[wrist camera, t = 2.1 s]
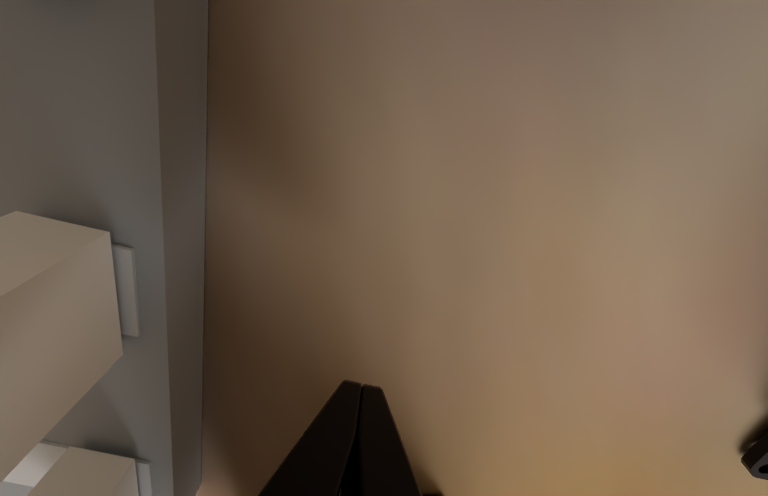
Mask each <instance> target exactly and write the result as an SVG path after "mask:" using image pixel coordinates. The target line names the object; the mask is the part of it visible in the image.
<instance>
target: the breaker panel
mask: <svg viewBox="0 0 768 496" xmlns="http://www.w3.org/2000/svg"><path fill="white" fill-rule="evenodd" d="M207 64H208V0H0V217H2V216H4V215H7V214H9V213H12V212H15V211H19V212H24V213H28V214H32V215H37V216H41V217H46V218H50V219H55V220H59V221H63V222H68V223H72V224H77V225H81V226H86V227H90V228H94V229H99V230H103V231H108V232H110V240H111V249H112V258H113V267H114V276H115V285H116V294H117V303H118V312H119V321H120V330H121V339H122V349H123V355H122V356H121V357H120V358H119V359H118V360H117V361H116V362H115V363H114V364H113V366H112V367H111V368H110V369H109V370H108V371H107V372H106V373H105V374H104V375H103V376H102V377H101V378H100V379H99V380H98V381H97V382H96V383H95V384H94V385H93V386H92V388H91V389H90V390H89V391H88V392H87V393H86V394H85V395H84V396H83V397H82V398H81V399H80V400H79V401H78V402H77V403H76V404H75V405H74V406H73V407H72V408H71V409H70V411H69V412H68V413H67V414H66V415H65V416H64V417H63V418H62V419H61V420H60V421H59V422H58V423H57V424H56V425H55V426H54V427H53V428H52V429H51V430H50V431H49V432H48V434H47V435H46V436H45V437H44V438H43V439H42V440H41V441H40V442H39V443H38V444H37V445H36V446H35V447H34V448H33V449H32V450H31V451H30V452H29V453H28V454H27V456H26V457H25V458H24V459H23V460H22V461H21V462H20V463H19V464H18V465H17V466H16V467H15V468H14V469H13V470H12V471H11V472H10V473H9V474H8V475H7V476H6V477H5V479H4V480H3V481H2V482H1V483H0V496H27V495H28V494H29V492H30V491H31V490H32V489H33V488H34V487H35V486H36V484H37V483H38V482H39V481H40V480H41V479H42V478H43V476H44V475H45V474H46V473H47V472H48V471H49V469H50V468H51V467H52V466H53V465H54V464H55V463H56V461H57V460H58V459H59V458H60V457H61V456H62V454H63V453H64V452H65V451H66V450H67V449H68V448H69V446H71V447H76V448H81V449H86V450H91V451H96V452H101V453H106V454H111V455H116V456H121V457H126V458H131V459H135V467H136V476H137V485H138V494H139V496H195V495H196V493H197V491H198V489H199V486H200V484H201V453H202V388H203V323H204V258H205V194H206V129H207Z"/></svg>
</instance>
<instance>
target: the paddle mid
mask: <svg viewBox="0 0 768 496" xmlns="http://www.w3.org/2000/svg"><path fill="white" fill-rule="evenodd" d="M122 355H123V349H122V339H121V330H120V321H119V312H118V303H117V294H116V285H115V276H114V267H113V258H112V249H111V240H110V232H108V231H103V230H99V229H94V228H90V227H86V226H81V225H77V224H72V223H68V222H63V221H59V220H55V219H50V218H46V217H41V216H37V215H32V214H28V213H24V212H19V211H15V212H12V213H9V214H7V215H4V216H2V217H0V483H1V482H2V481H3V480H4V479H5V477H6V476H7V475H8V474H9V473H10V472H11V471H12V470H13V469H14V468H15V467H16V466H17V465H18V464H19V463H20V462H21V461H22V460H23V459H24V458H25V457H26V456H27V454H28V453H29V452H30V451H31V450H32V449H33V448H34V447H35V446H36V445H37V444H38V443H39V442H40V441H41V440H42V439H43V438H44V437H45V436H46V435H47V434H48V432H49V431H50V430H51V429H52V428H53V427H54V426H55V425H56V424H57V423H58V422H59V421H60V420H61V419H62V418H63V417H64V416H65V415H66V414H67V413H68V412H69V411H70V409H71V408H72V407H73V406H74V405H75V404H76V403H77V402H78V401H79V400H80V399H81V398H82V397H83V396H84V395H85V394H86V393H87V392H88V391H89V390H90V389H91V388H92V386H93V385H94V384H95V383H96V382H97V381H98V380H99V379H100V378H101V377H102V376H103V375H104V374H105V373H106V372H107V371H108V370H109V369H110V368H111V367H112V366H113V364H114V363H115V362H116V361H117V360H118V359H119V358H120V357H121V356H122Z"/></svg>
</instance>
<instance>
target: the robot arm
mask: <svg viewBox="0 0 768 496" xmlns="http://www.w3.org/2000/svg"><path fill="white" fill-rule="evenodd" d="M741 462H742V464H743V465H744V466H745V467H746V468H747V470H748V471H749V472H750V473H751V475H752V476H754V477H756V478H760V479H765V480H768V432H767V433H766V434H765V435H764V436H763V437H762V438H761V439H760V440H759V441H758V442H757V443H756V444H755V445H753V446H752V447H751V448H750V449H749V450H748V451H747V452H746V453H745V454H744V455H743V457H742V458H741ZM339 493H340V496H422V494H421V491H420V489H419V486H418V483H417V481H416V478H415V475H414V472H413V470H412V467H411V464H410V462H409V459H408V456H407V454H406V451H405V448H404V446H403V443H402V440H401V438H400V435H399V432H398V430H397V427H396V424H395V422H394V419H393V416H392V414H391V411H390V408H389V405H388V403H387V400H386V397H385V395H384V392H383V390H382V388H380V387H377V386H373V385H368V384H364V385H363V386H362V384H361V383H359V382H354V381H349V380H344V381H342V383H341V384H340V385H339V387H338V388H337V389H336V391H335V392H334V393H333V395H332V396H331V397H330V399H329V400H328V401H327V403H326V404H325V405H324V407H323V408H322V410H321V411H320V412H319V414H318V415H317V416H316V418H315V419H314V420H313V422H312V423H311V424H310V426H309V427H308V428H307V430H306V431H305V433H304V434H303V435H302V437H301V438H300V439H299V441H298V442H297V443H296V445H295V446H294V447H293V449H292V450H291V451H290V453H289V454H288V456H287V457H286V458H285V460H284V461H283V462H282V464H281V465H280V466H279V468H278V469H277V470H276V472H275V473H274V474H273V476H272V477H271V478H270V480H269V481H268V483H267V484H266V485H265V487H264V488H263V489H262V491H261V492H260V493H259V495H258V496H339Z"/></svg>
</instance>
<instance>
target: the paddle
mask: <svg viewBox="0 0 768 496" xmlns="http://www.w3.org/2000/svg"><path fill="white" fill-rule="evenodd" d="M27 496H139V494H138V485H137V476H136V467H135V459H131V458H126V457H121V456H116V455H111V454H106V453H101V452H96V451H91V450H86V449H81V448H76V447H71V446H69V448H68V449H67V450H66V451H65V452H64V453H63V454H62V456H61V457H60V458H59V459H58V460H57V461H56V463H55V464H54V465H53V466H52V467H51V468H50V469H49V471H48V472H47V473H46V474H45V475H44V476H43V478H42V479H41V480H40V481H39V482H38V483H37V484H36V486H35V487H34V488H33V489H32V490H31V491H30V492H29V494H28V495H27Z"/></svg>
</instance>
